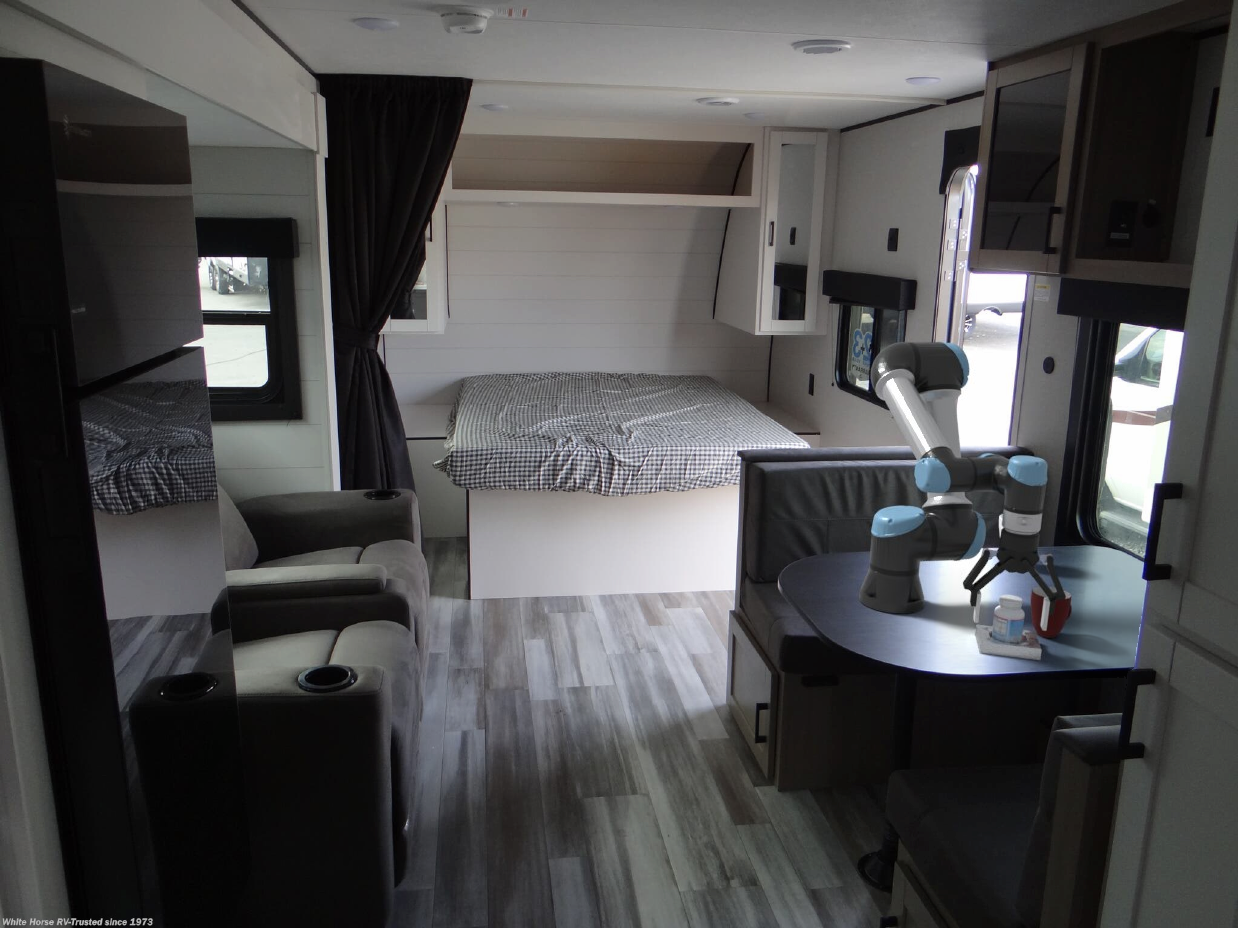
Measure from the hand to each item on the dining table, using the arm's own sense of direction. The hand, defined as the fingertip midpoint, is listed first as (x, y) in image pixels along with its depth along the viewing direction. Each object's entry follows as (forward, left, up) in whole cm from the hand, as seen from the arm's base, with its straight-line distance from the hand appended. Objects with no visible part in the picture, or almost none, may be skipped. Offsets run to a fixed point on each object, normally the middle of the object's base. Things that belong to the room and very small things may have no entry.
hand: (1009, 624), depth 199 cm
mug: (+10, +11, -6) cm, 16 cm away
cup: (+9, +60, -6) cm, 61 cm away
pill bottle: (0, 0, -6) cm, 6 cm away
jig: (0, 0, -5) cm, 5 cm away
